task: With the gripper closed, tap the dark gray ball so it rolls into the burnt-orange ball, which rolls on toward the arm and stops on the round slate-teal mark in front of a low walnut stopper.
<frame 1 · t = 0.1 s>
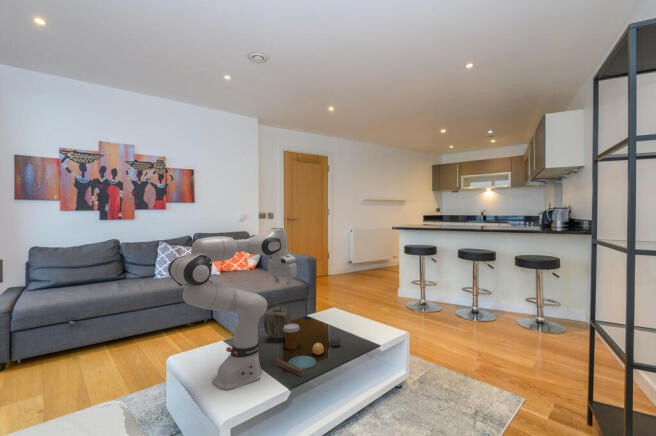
hand: (282, 283, 166), 39 cm above the table, tool pointing down, fingers open, 8 cm apart
stopper wall: (287, 369, 152), on the table
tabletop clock: (277, 340, 188), on the table
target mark: (302, 362, 159), on the table
dark gray ball: (335, 340, 179), on the table
orange ball: (318, 348, 168), on the table
disposable coffee cup: (291, 347, 178), on the table
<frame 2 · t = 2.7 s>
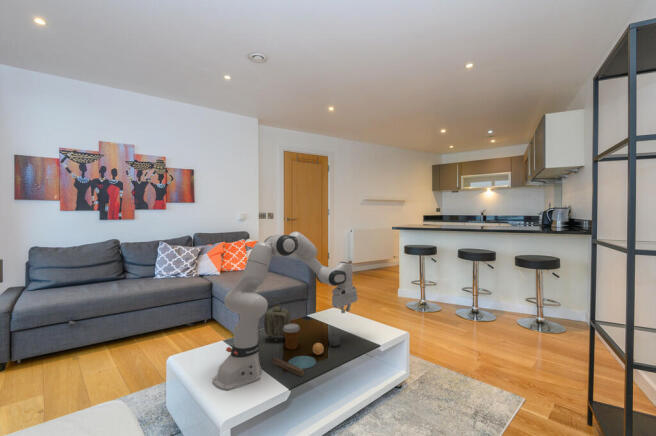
hand: (345, 312, 186), 17 cm above the table, tool pointing down, fingers open, 3 cm apart
nothing on the table moved.
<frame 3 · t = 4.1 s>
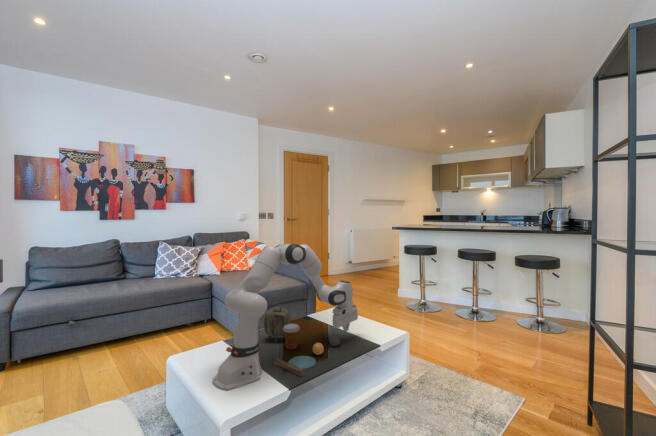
hand: (346, 330, 187), 6 cm above the table, tool pointing down, fingers closed
nothing on the table moved.
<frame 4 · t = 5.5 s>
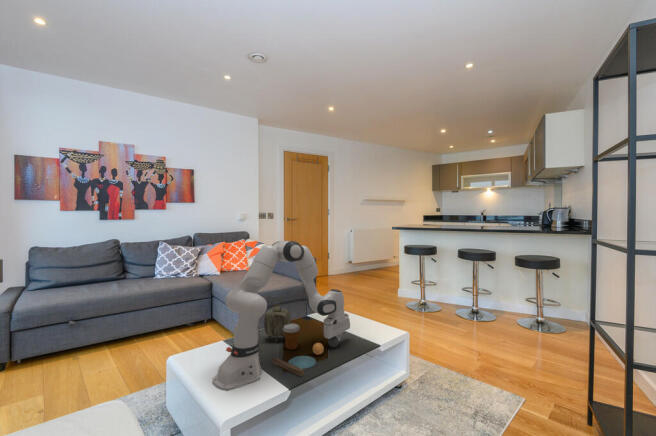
hand: (338, 341, 181), 2 cm above the table, tool pointing down, fingers closed
dark gray ball: (333, 341, 178), on the table, touching gripper
everything else where it was.
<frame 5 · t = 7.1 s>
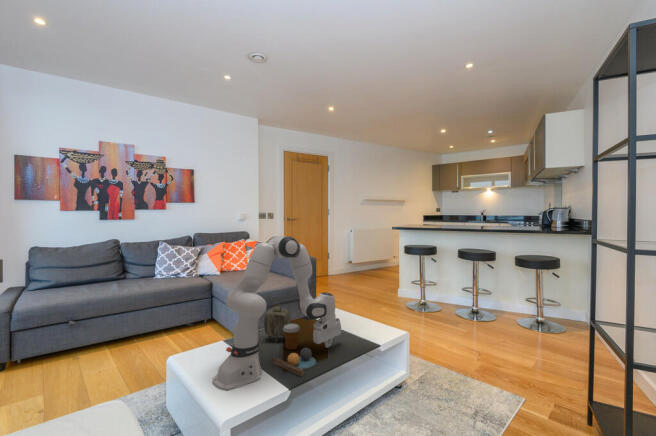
hand: (328, 346, 174), 2 cm above the table, tool pointing down, fingers closed
dark gray ball: (305, 353, 162), on the table
orange ball: (293, 359, 156), on the table
everything else where it was.
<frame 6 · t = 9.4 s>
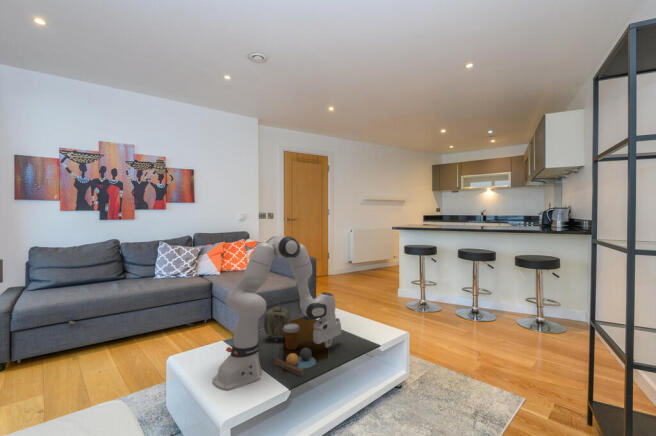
hand: (328, 346, 174), 2 cm above the table, tool pointing down, fingers closed
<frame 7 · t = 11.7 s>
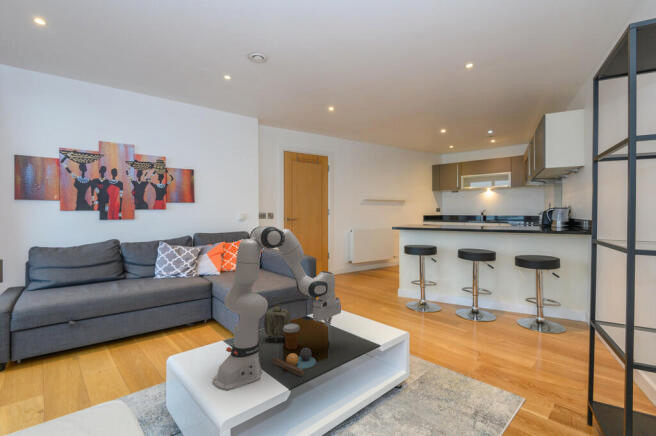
hand: (327, 325, 174), 14 cm above the table, tool pointing down, fingers closed
nothing on the table moved.
at the end: orange ball 5.6 cm from the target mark (horizontally); orange ball never touched the robot; dark gray ball first touched orange ball at 6.0 s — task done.
